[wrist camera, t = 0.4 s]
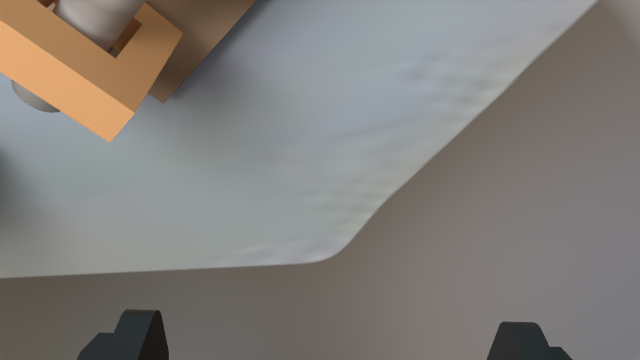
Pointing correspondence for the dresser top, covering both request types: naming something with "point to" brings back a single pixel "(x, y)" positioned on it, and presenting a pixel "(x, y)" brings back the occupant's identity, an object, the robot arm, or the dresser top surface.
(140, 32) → the collar
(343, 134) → the dresser top surface
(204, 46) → the pipe stand
